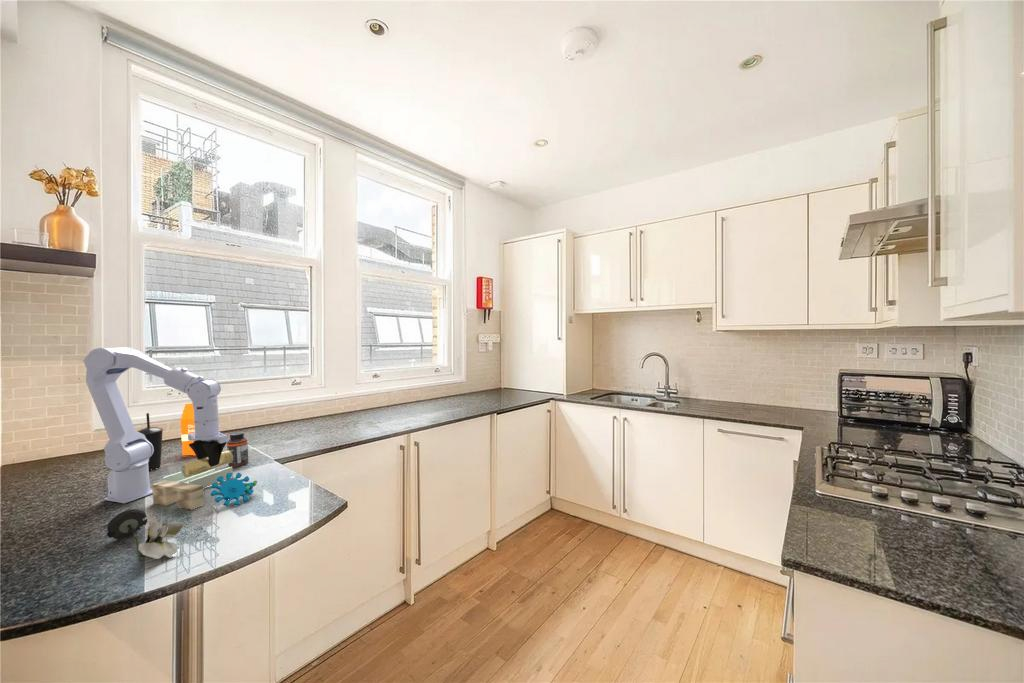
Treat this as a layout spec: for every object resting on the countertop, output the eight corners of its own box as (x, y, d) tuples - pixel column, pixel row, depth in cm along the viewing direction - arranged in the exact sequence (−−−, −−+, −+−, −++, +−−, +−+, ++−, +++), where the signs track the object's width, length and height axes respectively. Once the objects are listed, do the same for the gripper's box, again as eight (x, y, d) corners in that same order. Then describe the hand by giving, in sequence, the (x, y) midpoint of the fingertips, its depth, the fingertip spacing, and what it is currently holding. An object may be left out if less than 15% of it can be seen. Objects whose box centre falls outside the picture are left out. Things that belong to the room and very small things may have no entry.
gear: (216, 507, 98) (208, 474, 102) (208, 520, 100) (201, 487, 104) (263, 497, 107) (254, 467, 112) (255, 509, 109) (246, 479, 114)
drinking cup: (169, 467, 136) (165, 412, 135) (140, 474, 130) (136, 416, 129) (161, 463, 140) (158, 410, 139) (133, 470, 134) (129, 414, 133)
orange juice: (193, 450, 156) (190, 402, 155) (218, 448, 158) (215, 400, 157) (182, 456, 148) (178, 405, 147) (208, 454, 150) (205, 404, 149)
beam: (153, 503, 106) (152, 484, 106) (166, 498, 109) (164, 480, 108) (192, 510, 101) (190, 490, 101) (204, 505, 104) (203, 485, 103)
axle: (191, 477, 108) (189, 463, 108) (182, 477, 109) (180, 463, 109) (233, 463, 119) (232, 450, 119) (225, 463, 121) (223, 450, 121)
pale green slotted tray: (163, 489, 116) (162, 477, 116) (205, 474, 127) (204, 463, 127) (191, 493, 112) (191, 481, 112) (233, 477, 123) (232, 466, 123)
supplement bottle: (224, 466, 135) (222, 434, 134) (241, 460, 140) (239, 430, 140) (235, 468, 132) (233, 436, 132) (252, 462, 138) (250, 431, 138)
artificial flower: (153, 532, 93) (166, 491, 94) (180, 575, 80) (196, 526, 81) (101, 539, 86) (117, 494, 87) (122, 587, 73) (140, 534, 74)
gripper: (175, 422, 113) (178, 467, 113) (208, 424, 108) (211, 471, 108) (201, 416, 119) (203, 459, 120) (233, 418, 115) (236, 463, 115)
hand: (209, 464), depth 114 cm, fingers closed on axle, 4 cm apart
